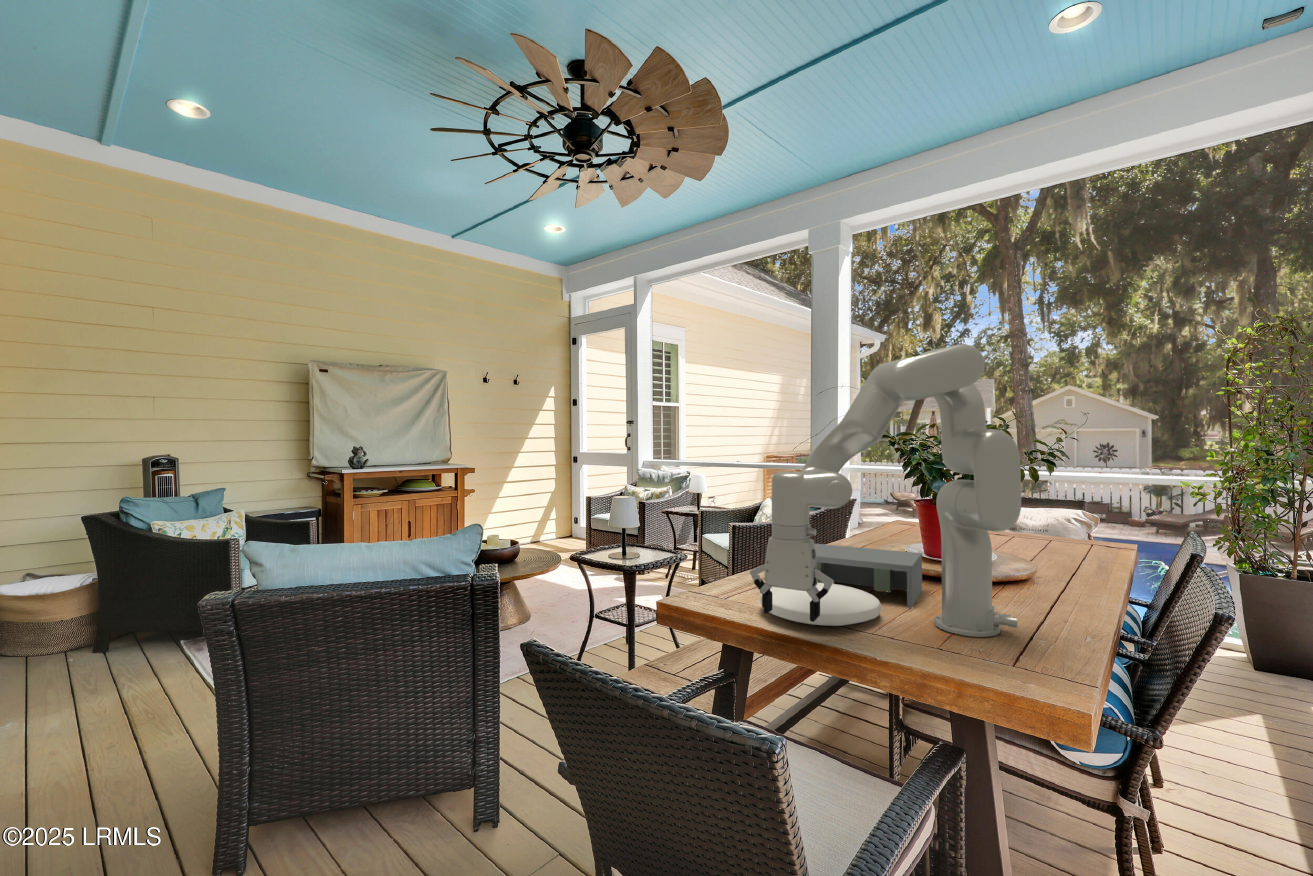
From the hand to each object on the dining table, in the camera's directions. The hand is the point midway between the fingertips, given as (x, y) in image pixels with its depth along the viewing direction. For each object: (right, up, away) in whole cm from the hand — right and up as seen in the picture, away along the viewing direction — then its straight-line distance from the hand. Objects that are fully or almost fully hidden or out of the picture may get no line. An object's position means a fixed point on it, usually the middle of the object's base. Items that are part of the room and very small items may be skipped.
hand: (790, 615), depth 120 cm
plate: (+10, -5, +16) cm, 20 cm away
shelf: (+22, -4, +36) cm, 42 cm away
